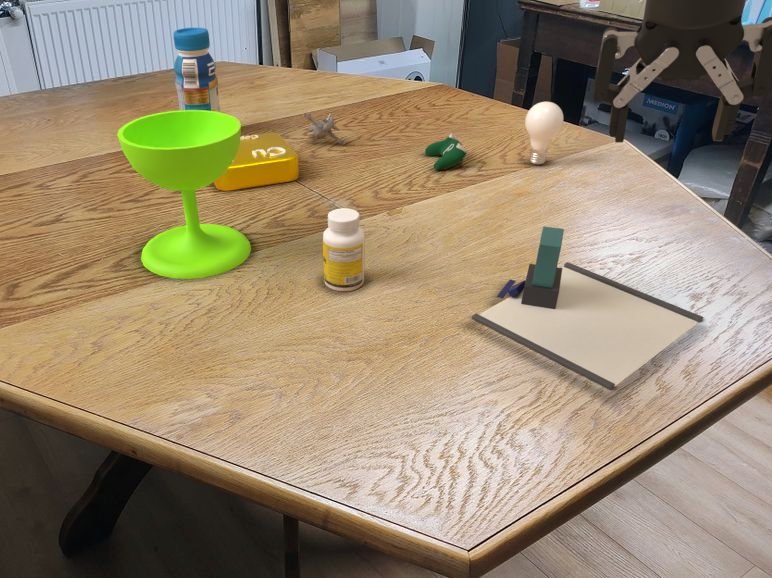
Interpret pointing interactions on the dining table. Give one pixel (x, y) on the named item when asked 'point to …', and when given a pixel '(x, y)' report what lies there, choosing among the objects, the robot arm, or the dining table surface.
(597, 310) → the whiteboard
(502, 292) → the bar
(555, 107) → the lightbulb
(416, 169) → the dining table surface
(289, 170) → the element tile
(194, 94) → the beverage bottle
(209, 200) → the dining table surface
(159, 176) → the wineglass
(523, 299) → the eraser
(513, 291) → the bar
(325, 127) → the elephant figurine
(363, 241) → the supplement bottle
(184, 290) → the dining table surface
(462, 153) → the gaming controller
